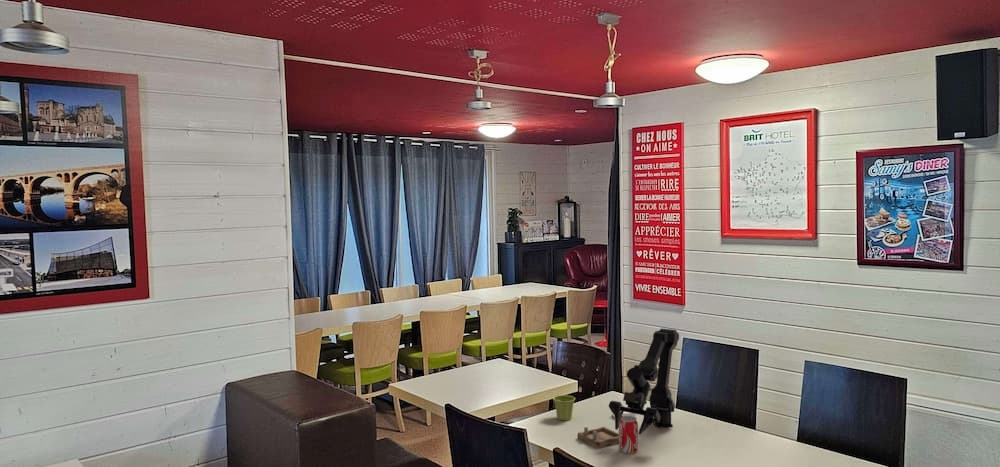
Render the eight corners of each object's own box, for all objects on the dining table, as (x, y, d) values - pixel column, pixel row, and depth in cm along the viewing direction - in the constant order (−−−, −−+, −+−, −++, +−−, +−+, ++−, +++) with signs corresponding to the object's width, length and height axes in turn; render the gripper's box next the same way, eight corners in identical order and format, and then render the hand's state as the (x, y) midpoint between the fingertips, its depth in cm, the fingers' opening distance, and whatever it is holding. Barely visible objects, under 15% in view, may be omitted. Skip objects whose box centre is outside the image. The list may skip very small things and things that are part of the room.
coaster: (636, 421, 265) (636, 413, 265) (612, 420, 267) (612, 412, 267) (636, 414, 275) (636, 406, 275) (613, 412, 277) (613, 404, 277)
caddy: (603, 432, 253) (603, 419, 253) (624, 441, 242) (624, 428, 242) (577, 438, 246) (577, 425, 246) (597, 448, 236) (597, 435, 236)
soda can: (633, 456, 228) (633, 423, 228) (615, 451, 233) (615, 419, 232) (641, 450, 234) (641, 417, 233) (624, 445, 238) (623, 414, 238)
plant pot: (549, 416, 272) (549, 396, 272) (568, 413, 276) (567, 393, 276) (560, 423, 264) (560, 402, 263) (579, 420, 268) (579, 399, 267)
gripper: (610, 379, 242) (597, 415, 233) (657, 387, 231) (645, 425, 222) (619, 395, 248) (606, 431, 240) (665, 403, 237) (654, 441, 229)
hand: (627, 431), depth 232 cm, fingers open, 9 cm apart
